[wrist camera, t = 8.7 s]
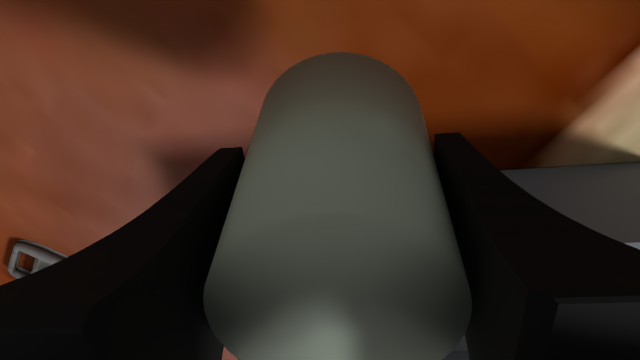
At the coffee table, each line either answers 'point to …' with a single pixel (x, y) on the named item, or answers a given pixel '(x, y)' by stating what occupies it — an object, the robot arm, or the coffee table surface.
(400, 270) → the sage capsule
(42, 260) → the strap clip
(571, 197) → the tote
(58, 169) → the coffee table surface
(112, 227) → the coffee table surface
